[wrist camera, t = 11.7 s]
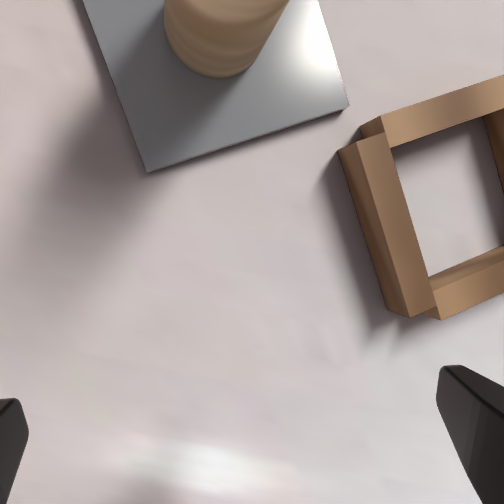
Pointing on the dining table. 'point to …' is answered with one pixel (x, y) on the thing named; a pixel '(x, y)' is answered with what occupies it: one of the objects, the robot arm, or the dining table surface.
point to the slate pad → (214, 82)
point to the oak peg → (220, 33)
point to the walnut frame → (396, 211)
